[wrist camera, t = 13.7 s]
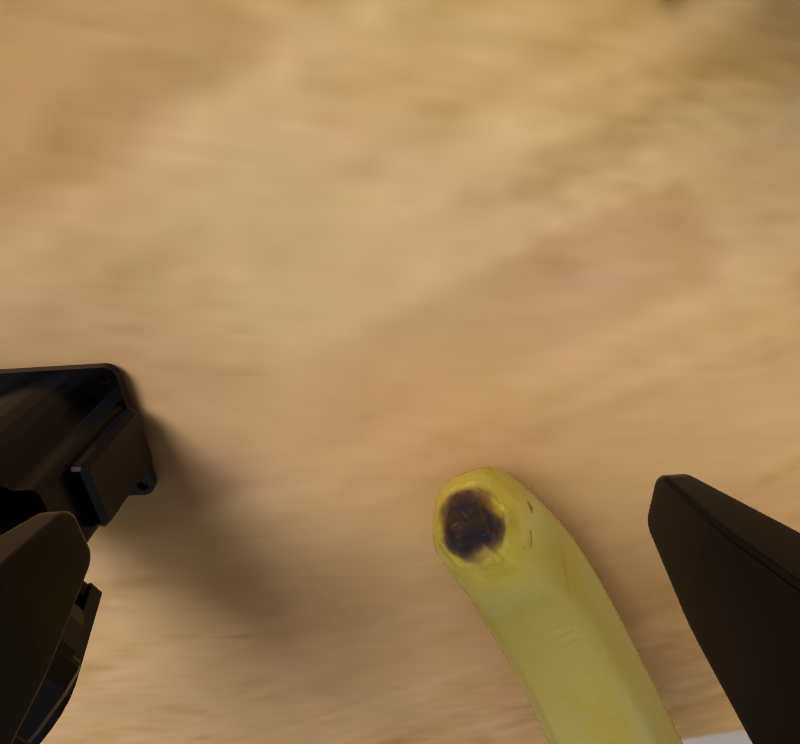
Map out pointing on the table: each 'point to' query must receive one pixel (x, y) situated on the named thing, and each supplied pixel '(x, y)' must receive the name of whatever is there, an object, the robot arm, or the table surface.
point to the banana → (547, 613)
